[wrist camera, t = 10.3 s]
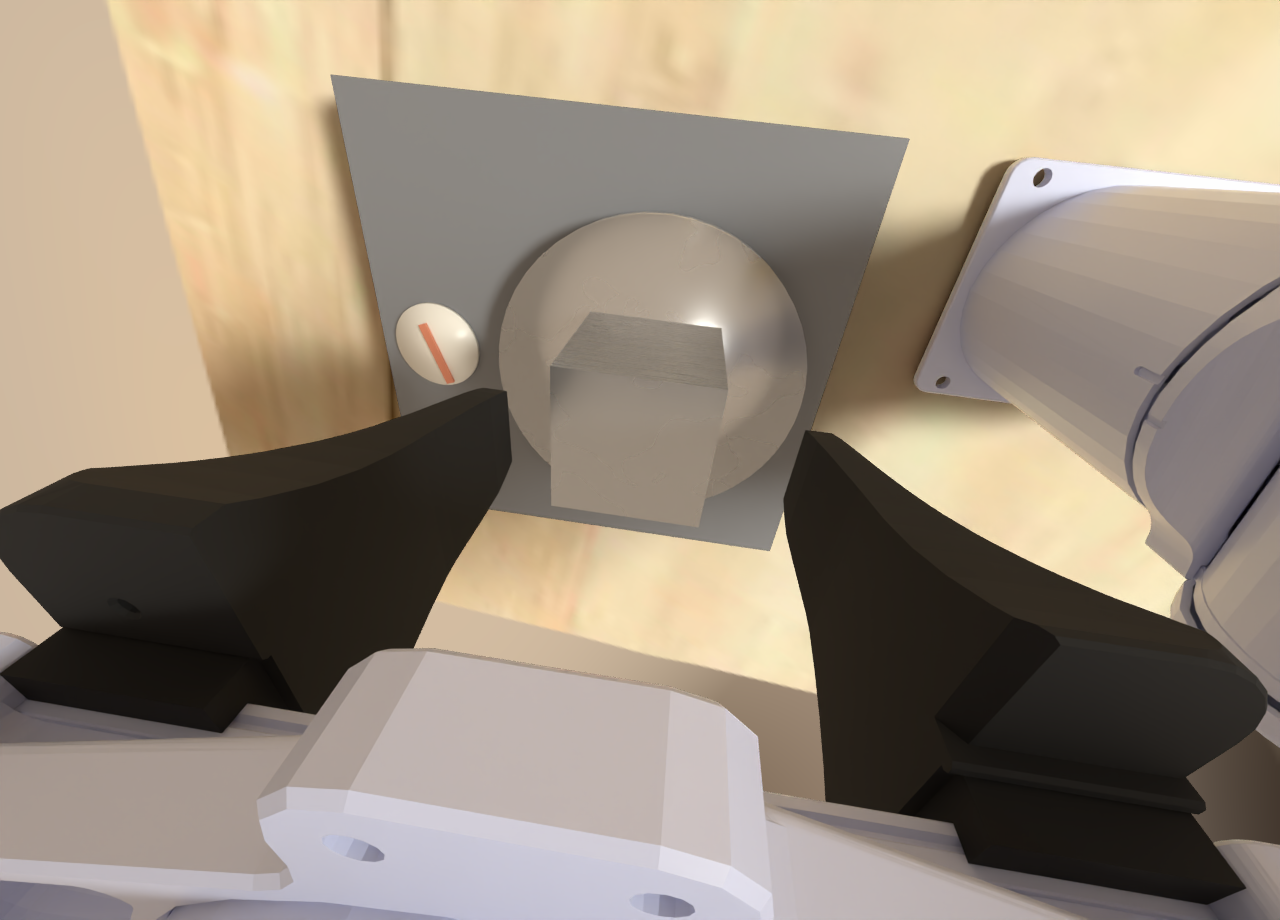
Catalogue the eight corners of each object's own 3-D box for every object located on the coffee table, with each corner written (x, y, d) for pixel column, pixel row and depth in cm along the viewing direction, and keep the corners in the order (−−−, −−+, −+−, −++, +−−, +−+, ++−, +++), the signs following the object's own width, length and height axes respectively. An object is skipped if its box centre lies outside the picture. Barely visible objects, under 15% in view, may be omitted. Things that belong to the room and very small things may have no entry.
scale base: (882, 141, 15) (914, 137, 13) (764, 518, 24) (770, 555, 22) (377, 85, 16) (322, 72, 14) (441, 471, 25) (414, 502, 22)
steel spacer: (721, 328, 15) (728, 390, 11) (699, 441, 18) (698, 527, 14) (590, 311, 16) (549, 365, 11) (586, 425, 18) (551, 505, 14)
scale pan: (847, 233, 14) (854, 236, 14) (761, 511, 20) (763, 523, 20) (496, 190, 15) (486, 192, 14) (514, 475, 21) (507, 485, 20)
